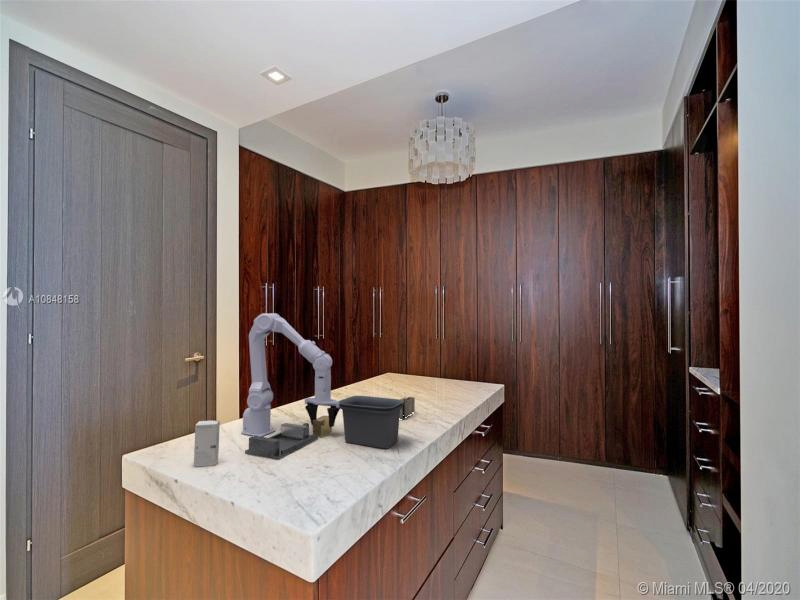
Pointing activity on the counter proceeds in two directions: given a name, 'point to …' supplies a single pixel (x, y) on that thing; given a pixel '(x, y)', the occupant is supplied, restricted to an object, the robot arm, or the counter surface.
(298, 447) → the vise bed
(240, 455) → the counter surface
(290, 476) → the counter surface
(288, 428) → the free jaw
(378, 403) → the storage bin
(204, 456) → the skincare box
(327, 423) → the brass block
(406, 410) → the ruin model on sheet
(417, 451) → the counter surface
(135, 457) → the counter surface
